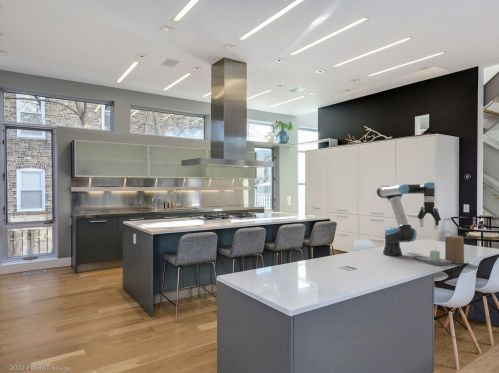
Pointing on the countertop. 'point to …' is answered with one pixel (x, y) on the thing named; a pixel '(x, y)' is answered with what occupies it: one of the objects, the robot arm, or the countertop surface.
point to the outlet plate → (437, 263)
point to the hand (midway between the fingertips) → (428, 228)
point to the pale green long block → (435, 255)
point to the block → (454, 249)
